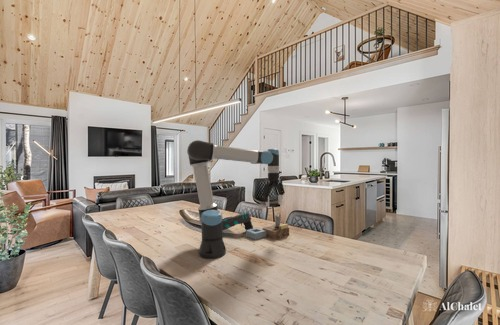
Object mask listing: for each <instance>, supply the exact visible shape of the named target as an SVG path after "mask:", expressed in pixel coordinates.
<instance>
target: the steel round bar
mask: <svg viewBox="0 0 500 325" xmlns="http://www.w3.org/2000/svg"><path fill="white" fill-rule="evenodd" d="M274 220H275V223H274V225H275V228H277V229H279V225H281V215H279V214H278V215H275V216H274Z"/></svg>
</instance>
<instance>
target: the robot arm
mask: <svg viewBox="0 0 500 325" xmlns="http://www.w3.org/2000/svg"><path fill="white" fill-rule="evenodd" d="M186 153H187V156H188V161H189V166H190V167H192V169H193V174H194V180H195V185H196V189H197V196H198V201H199V206H198V208H197V210H198V211H197V212H198V215H199V222H200V225H201V242H200V244H199V249H198V256H199V257H200V258H203V259H218V258H220V257H223V256H225V255H226V253H227V248H226V246H225V245H226V244H225V242H224V239H223V230H222V219H224V218H223V213H222V212H221V211H220V210H218V208H219V207H218V204H217V203H215V201H214V194H213V189H212V184H211V178H210V173H209V168H208V165H209V163H210V161H213V160H214V159H216V160H223V161H225V160H226V161H234V162H244V163H250V164H253V165H259V164H260V165H267V179H268V180H264V186H263V187H264V188H263V190H262V196H263V197H264V201H265V207H266V208H270V196H269V195H270V193H271V191H272V189H273V187H275V188H276V191H277V193H278V196H277V197H278V200H277V201H278V203H277V204H278V205H280V206H282V205H283V196H284V194H285V188H284V185H283V179H280V151H279V149H278V148H269V149H267V150H256V149H248V148H240V147H233V146H222V145H216V144H215V143H212V142H209V141H208V142H207V141H203V140H199V139H198V140H193V141H192V142H190V143H189V145H188V146H187V151H186Z"/></svg>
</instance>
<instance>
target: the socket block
mask: <svg viewBox="0 0 500 325" xmlns="http://www.w3.org/2000/svg"><path fill="white" fill-rule="evenodd" d="M261 229H263V230H266V238H270V239H272V240H277V239H281V238H284V237H288V236H290V227H288V228H285V229H277V228H275V224H273V225H269V226H264V227H262V228H261Z"/></svg>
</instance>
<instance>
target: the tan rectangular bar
mask: <svg viewBox="0 0 500 325" xmlns="http://www.w3.org/2000/svg"><path fill="white" fill-rule="evenodd" d="M285 228H289V223H284V224H280V225H279V229H285Z"/></svg>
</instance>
